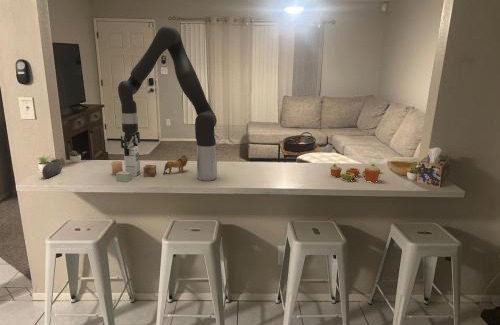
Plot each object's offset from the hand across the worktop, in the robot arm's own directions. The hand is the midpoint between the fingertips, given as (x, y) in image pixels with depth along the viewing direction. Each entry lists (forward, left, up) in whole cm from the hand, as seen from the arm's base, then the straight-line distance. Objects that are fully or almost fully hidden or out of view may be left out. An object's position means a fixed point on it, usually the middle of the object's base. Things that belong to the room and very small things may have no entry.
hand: (131, 154), depth 180 cm
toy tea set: (-112, -25, -11) cm, 115 cm away
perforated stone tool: (+37, +12, -11) cm, 40 cm away
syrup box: (0, 0, -11) cm, 11 cm away
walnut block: (-9, -1, -11) cm, 14 cm away
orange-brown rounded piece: (+8, +1, -11) cm, 13 cm away
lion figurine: (-20, -10, -11) cm, 25 cm away
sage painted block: (-1, +10, -11) cm, 15 cm away
